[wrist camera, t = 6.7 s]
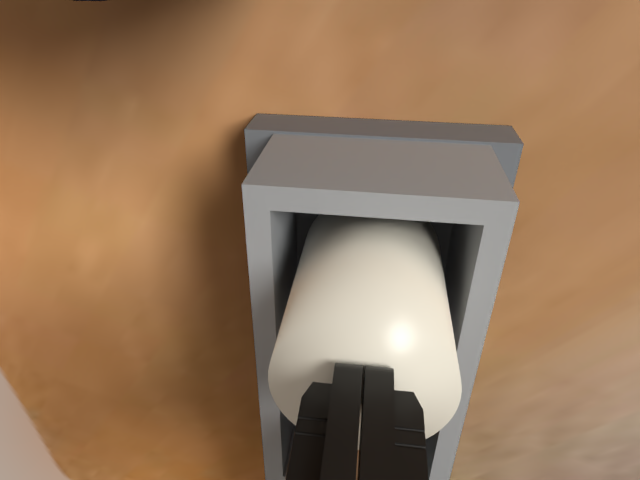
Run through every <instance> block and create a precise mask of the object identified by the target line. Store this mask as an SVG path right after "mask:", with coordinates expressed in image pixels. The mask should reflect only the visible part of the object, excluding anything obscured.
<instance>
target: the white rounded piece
mask: <svg viewBox="0 0 640 480" xmlns="http://www.w3.org/2000/svg"><path fill="white" fill-rule="evenodd" d="M335 363H343V364H354V365H363V371H362V387H361V403H360V419H359V435H358V450H359V442H360V426H361V411H362V399H363V388H364V376H365V366H375V367H385V368H393V369H394V390H399V391H409V392H414V394H415V395H416V397H417V399H418V401H419V403H420V405H421V407H422V408H423V412H424V425H425V438H426V439H427V438H429V437H431V436H433V435H434V434H435V433H437V432H438V431H440V430H441V429H442V428H443V427H444V426H445V425H446V424H447V423H448V422H449V421H450V420H451V418H452V417H453V416H454V414H455V412H456V410H457V409H458V406H459V403H460V400H461V393H462V384H461V376H460V370H459V364H458V358H457V352H456V345H455V339H454V333H453V327H452V321H451V315H450V309H449V303H448V296H447V290H446V284H445V278H444V272H443V266H442V260H441V253H440V247H439V242H438V238H437V235H436V233H435V230H434V228H433V227H432V225H431V223H430V222H428V221H413V220H399V219H384V218H370V217H355V216H341V215H326V214H319V215H318V216H317V218H316V219H315V220H314V221H313V223H312V225H311V227H310V229H309V231H308V234H307V237H306V240H305V244H304V247H303V250H302V254H301V257H300V261H299V264H298V268H297V271H296V274H295V278H294V281H293V285H292V288H291V292H290V295H289V299H288V302H287V305H286V309H285V312H284V316H283V319H282V323H281V326H280V329H279V333H278V336H277V340H276V343H275V347H274V350H273V354H272V357H271V360H270V364H269V369H268V383H269V389H270V392H271V395H272V397H273V399H274V401H275V403H276V405H277V406H278V408H279V409H280V411H281V412H282V413H283V414H284V415H285V416H286V417H287V419H288V420H290V421H291V422H292V423H293V424H294V425H295V426H296V423H297V419H298V413H299V407H300V402H301V397H302V396H303V394H304V393H305V392H306V390H307V389H308V388H309V386H310V385H311V383H312V382H320V383H330V384H332V381H333V373H334V366H335Z"/></svg>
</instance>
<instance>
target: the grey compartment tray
mask: <svg viewBox="0 0 640 480" xmlns="http://www.w3.org/2000/svg"><path fill="white" fill-rule="evenodd" d="M244 132H245V146H246V160H247V173H248V175H247V176H246V178H245V180H244V181H243V183H242V196H243V208H244V221H245V233H246V245H247V258H248V270H249V282H250V295H251V307H252V319H253V332H254V344H255V357H256V369H257V381H258V394H259V406H260V418H261V431H262V443H263V455H264V468H265V480H285V478H286V473H287V468H288V463H289V458H290V453H291V448H292V443H293V438H294V433H295V428H296V426H295V425H294V424H293V423H292V422H291V421H290V420H288V419H287V417H286V416H285V415H284V414H283V413H282V412H281V411H280V409H279V408H278V406H277V405H276V403H275V401H274V399H273V397H272V395H271V392H270V389H269V383H268V369H269V364H270V360H271V357H272V354H273V350H274V347H275V343H276V340H277V336H278V333H279V329H280V326H281V323H282V319H283V316H284V312H285V309H286V305H287V302H288V299H289V295H290V292H291V288H292V285H293V281H294V278H295V274H296V271H297V268H298V264H299V261H300V257H301V254H302V250H303V247H304V244H305V240H306V237H307V234H308V231H309V229H310V227H311V225H312V223H313V221H314V220H315V219H316V218H317V216H318V215H319V214H326V215H341V216H355V217H370V218H384V219H399V220H413V221H428V222H430V223H431V225H432V227H433V228H434V230H435V233H436V235H437V238H438V242H439V247H440V253H441V260H442V266H443V272H444V278H445V284H446V290H447V296H448V303H449V309H450V315H451V321H452V327H453V333H454V339H455V345H456V352H457V358H458V364H459V370H460V376H461V384H462V393H461V400H460V403H459V406H458V409H457V410H456V412H455V414H454V416H453V417H452V418H451V420H450V421H449V422H448V423H447V424H446V425H445V426H444V427H443V428H442V429H441V430H440V431H438V432H437V433H435V434H434V435H433V436H431V437H429V438H427V439H426V452H427V465H428V478H429V480H449V479H450V475H451V471H452V467H453V463H454V459H455V455H456V451H457V447H458V444H459V440H460V436H461V432H462V428H463V424H464V420H465V416H466V412H467V408H468V404H469V400H470V396H471V392H472V388H473V384H474V380H475V376H476V373H477V369H478V365H479V361H480V357H481V353H482V349H483V345H484V341H485V337H486V333H487V329H488V325H489V321H490V317H491V313H492V309H493V305H494V301H495V298H496V294H497V290H498V286H499V282H500V278H501V274H502V270H503V266H504V262H505V258H506V254H507V250H508V246H509V242H510V238H511V234H512V230H513V227H514V223H515V219H516V215H517V211H518V207H519V203H520V202H519V200H518V198H517V196H516V194H515V192H514V190H513V186H514V182H515V177H516V173H517V169H518V165H519V161H520V157H521V153H522V148H523V142H522V141H521V139H520V138H519V136H518V135H517V133H516V132H515V130H514V129H513V127H512V126H504V125H484V124H463V123H442V122H422V121H401V120H381V119H360V118H339V117H319V116H298V115H277V114H256V115H255V117H254V118H253V119H252V120H251V122H250V123H249V124H248V125H247V127H246V128H245V129H244Z"/></svg>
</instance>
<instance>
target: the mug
mask: <svg viewBox="0 0 640 480" xmlns="http://www.w3.org/2000/svg"><path fill="white" fill-rule="evenodd" d="M74 1H105V0H74Z"/></svg>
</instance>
